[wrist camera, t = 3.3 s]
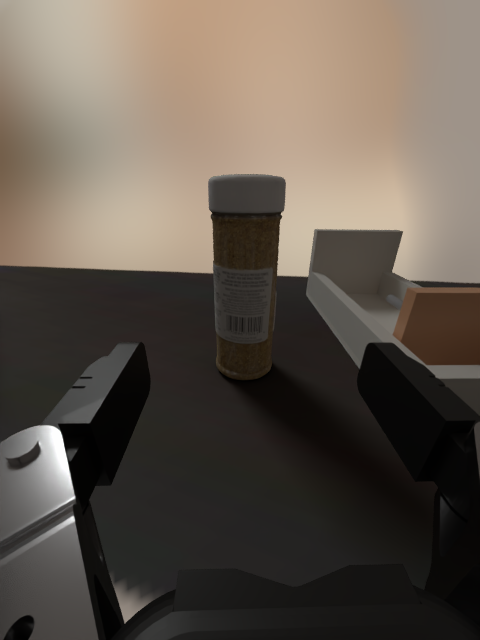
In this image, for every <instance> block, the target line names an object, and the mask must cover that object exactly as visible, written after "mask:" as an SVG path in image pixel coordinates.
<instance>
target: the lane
mask: <svg viewBox="0 0 480 640" xmlns="http://www.w3.org/2000/svg"><path fill="white" fill-rule="evenodd" d="M402 233H403V231H399V230H319V229H318V230H317V229H315V231H314V238H313V246H312V253H311V261H310V268H309V276H308V284H307V291H306V296H307V297H308V298H309V300H310V301H311V303H312V304H313V305H314V307H315V308H316V309H317V311H318V312H319V314H320V315H321V316H322V318H323V319H324V320H325V322H326V323H327V325H328V326H329V327H330V329H331V330H332V332H333V333H334V334H335V336H336V337H337V338H338V340H339V341H340V343H341V344H342V345H343V347H344V348H345V350H346V351H347V352H348V354H349V355H350V356H351V358H352V359H353V361H354V362H355V363H356V365H357V366H358V368H359V369H360V366H361V362H362V359H363V355H364V351H365V348H366V346H367V344H368V343H371V342H391V343H394V344H395V345H396V346H397V347H398V348H400V349H401V350H402V351H403V352H404V353H405V354H406V355H407V356H409V357H411V358H412V359H414V360H416V361H418V362H419V363H421V364H423V365H424V366H425V367H427V368H428V369H429V370H430V371H431V372H432V373H433V374H434V375H435V377H436V378H439V379H440V380H441V381H442V382H443V383H444V384H445V386H446V387H449V388H450V389H451V390H452V391H453V392H454V393H455V394H456V395H457V396H458V397H460V398H461V399H462V400H463V401H464V402H465V403H466V404H467V405H468V406H470V407H471V408H472V409H473V410H474V411H475V412H476V413H477V414H478V415H479V416H480V365H426V364H425V363H423V362H422V361H421V360H420V359H419V358H418V357H417V356H416V355H414V354H413V353H412V352H411V351H410V350H409V349H408V348H407V347H405V346H404V345H403V344H402V343H401V342H400V341H399V340H398V339H396V338H395V337H394V336H393V332H394V329H395V326H396V323H397V319H398V316H399V313H400V310H399V309H397V308H396V307H394V306H393V305H391V304H390V303H389V302H387V301H386V298H387V296H388V295H391V294H392V295H394V296H396V297H397V298H399V299H400V300H402V301H403V300H404V297H405V294H406V291H407V288H423V287H421V286H419V285H417V284H415V283H413V282H411V281H409V280H407V279H405V278H403V277H400V276H399V275H396V274H395V273H392V269H393V266H394V262H395V259H396V255H397V251H398V248H399V244H400V241H401V237H402Z"/></svg>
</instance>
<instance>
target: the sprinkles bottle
mask: <svg viewBox="0 0 480 640" xmlns="http://www.w3.org/2000/svg"><path fill="white" fill-rule="evenodd" d="M285 186H286V183H285V180H284V179H283V178H282V177H277V176H272V175H258V174H234V175H222V176H214V177H212V178H210V179H209V183H208V188H209V210H210V211H211V212H212V214H211V219H212V221H213V243H214V244H213V249H214V261H213V271H214V299H215V326H216V333H217V358H216V365H217V368H218V369H219V371H220V372H222V374H224V375H226V376H227V377H229V378H232V379H237V380H253V379H257V378H260V377H262V376H263V375H265V374H266V373H268V372H269V371H270V369H271V366H272V359H271V347H272V333H273V331H274V322H275V307H276V281H277V280H276V278H277V265H278V263H277V261H278V245H279V244H278V243H279V228H280V227H279V225H280V219H281V218H282V216H281V212H282V211H284V205H285Z"/></svg>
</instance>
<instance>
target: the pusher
mask: <svg viewBox="0 0 480 640" xmlns="http://www.w3.org/2000/svg"><path fill="white" fill-rule="evenodd" d="M386 301H387V302H389V303H390V304H391V305H393V306H394V307H396V308H397V309H399V310H400V313H399V316H398V319H397V323H396V326H395V329H394V332H393V336H394V337H395V338H396V339H398V340H399V341H400V342H401V343H402V344H403V345H404V346H405V347H407V348H408V349H409V350H410V351H411V352H412V353H413V354H414V355H416V356H417V357H418V358H419V359H420V360H421V361H422V362H423V363H425V364H426V365H480V288H407V291H406V294H405V297H404V300H403V301H402V300H400V299H399V298H397V297H396V296H394V295H392V294H391V295H388V296H387V298H386Z"/></svg>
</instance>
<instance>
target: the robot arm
mask: <svg viewBox="0 0 480 640" xmlns="http://www.w3.org/2000/svg"><path fill="white" fill-rule="evenodd" d="M357 385H358V390H359V393H360V395H361V396H362V398H363V399H364V401H365V403H366V404H367V406H368V407H369V409H370V410H371V412H372V414H373V415H374V417H375V418H376V420H377V422H378V423H379V425H380V426H381V428H382V430H383V431H384V433H385V434H386V436H387V437H388V439H389V441H390V442H391V444H392V445H393V447H394V449H395V450H396V452H397V453H398V455H399V456H400V458H401V460H402V461H403V463H404V464H405V466H406V468H407V469H408V471H409V472H410V474H411V476H412V477H413V479H414V480H415V482H418V481H434V482H435V484H436V485H437V487H438V489H437V491H436V493H435V496H434V517H433V542H432V562H431V568H430V572H429V576H428V578H427V581H426V585H425V589H424V590H423V589H420V588H418V587H416V586H413V585H412V583H411V581H410V579H409V577H408V574H407V572H406V570H405V568H404V566H403V564H386V565H349V566H346V567H344V568H342V569H339V570H337V571H335V572H332V573H330V574H328V575H325V576H323V577H321V578H318V579H316V580H313V581H311V582H309V583H306V584H304V585H302V586H298V587H291V586H287V585H284V584H281V583H278V582H275V581H272V580H269V579H266V578H262V577H259V576H256V575H253V574H250V573H247V572H244V571H241V570H238V569H200V570H179V571H178V578H177V585H176V589H175V590H173V591H170V592H168V593H166V594H164V595H162V596H160V597H159V598H157V599H155V600H153V601H152V602H150V603H149V604H148V605H146V606H145V607H144V608H142V609H141V610H140V611H138V612H137V613H136V614H135V615H134V616H133V617H132V618H131V619H130V620H128V621H127V622H126V623H125V624H124V620H123V616H122V613H121V609H120V606H119V603H118V599H117V596H116V593H115V590H114V587H113V584H112V581H111V578H110V575H109V572H108V568H107V564H106V561H105V557H104V553H103V549H102V545H101V541H100V538H99V534H98V530H97V526H96V522H95V519H94V515H93V511H92V507H91V504H90V501H89V499H90V496H91V494H92V492H93V490H94V488H95V486H108V485H111V484H112V482H113V479H114V477H115V475H116V472H117V470H118V467H119V465H120V462H121V460H122V458H123V455H124V453H125V450H126V448H127V446H128V443H129V441H130V438H131V436H132V434H133V431H134V429H135V426H136V424H137V421H138V419H139V417H140V414H141V412H142V409H143V407H144V405H145V402H146V400H147V397H148V395H149V391H150V373H149V368H148V362H147V356H146V351H145V346H144V344H143V343H142V342H120V343H118V344H117V346H116V347H115V348H114V349H113V351H112V352H111V353H110V355H109V356H108V357H102V358H100V359H99V360H97V361H96V362H94V363H93V364H91V365H90V366H89V367H88V368H87V369H86V370H85V372H84V373H83V374H82V375H81V376H80V379H78V380H77V381H76V382H75V384H74V385H73V388H72V389H70V390H69V391H68V392H67V393H66V395H65V396H64V397H63V398H62V399H61V401H60V402H59V403H58V404H57V406H56V407H55V408H54V409H53V410H52V412H51V413H50V414H49V415H48V416H47V418H46V419H45V420H44V421H43V422H42V424H41V425H40V426H35V427H32V428H28V429H25V430H23V431H20V432H18V433H16V434H14V435H12V436H11V437H9V438H7V439H6V440H4V441H3V442H2V443H0V640H480V416H479V415H478V414H477V413H476V412H475V411H474V410H473V409H472V408H471V407H470V406H468V405H467V404H466V403H465V402H464V401H463V400H462V399H461V398H460V397H458V396H457V395H456V394H455V393H454V392H453V391H452V390H451V389H450V388H449V387H446V386H445V384H444V383H443V382H442V381H441V380H440V379H439V378H436V377H435V375H434V374H433V373H432V372H431V371H430V370H429V369H428V368H427V367H425V366H424V365H423V364H421V363H419V362H418V361H416V360H414V359H412V358H411V357H409V356H407V355H406V354H405V353H404V352H403V351H402V350H401V349H400V348H398V347H397V346H396V345H395V344H394V343H391V342H371V343H368V344H367V346H366V348H365V351H364V355H363V359H362V362H361V366H360V370H359V373H358V378H357Z"/></svg>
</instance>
